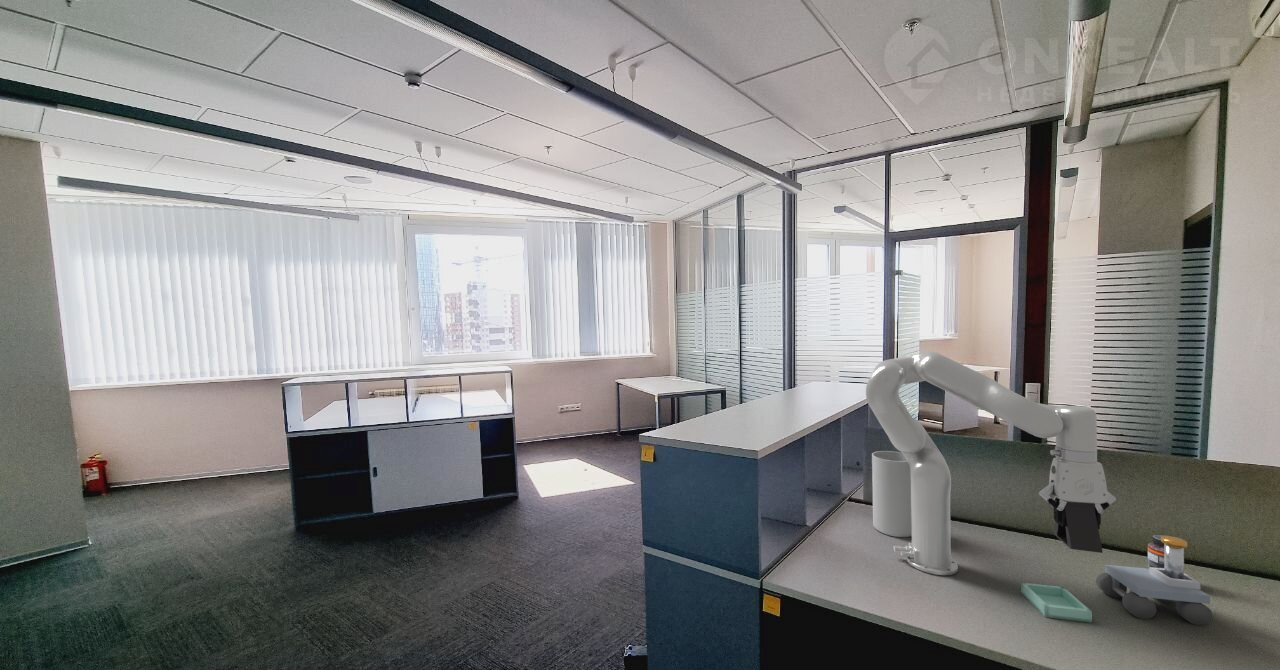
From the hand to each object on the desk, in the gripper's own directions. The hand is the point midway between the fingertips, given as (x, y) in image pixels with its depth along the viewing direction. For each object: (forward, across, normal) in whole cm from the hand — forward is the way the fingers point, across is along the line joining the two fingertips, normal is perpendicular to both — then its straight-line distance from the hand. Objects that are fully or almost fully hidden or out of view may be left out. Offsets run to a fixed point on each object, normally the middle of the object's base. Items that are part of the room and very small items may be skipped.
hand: (1076, 525), depth 115 cm
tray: (+17, -9, -8) cm, 21 cm away
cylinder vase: (+18, -35, +30) cm, 49 cm away
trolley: (+17, +12, -4) cm, 22 cm away
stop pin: (+10, +17, -4) cm, 20 cm away
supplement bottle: (+18, +25, +12) cm, 33 cm away
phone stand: (+5, 0, 0) cm, 5 cm away
